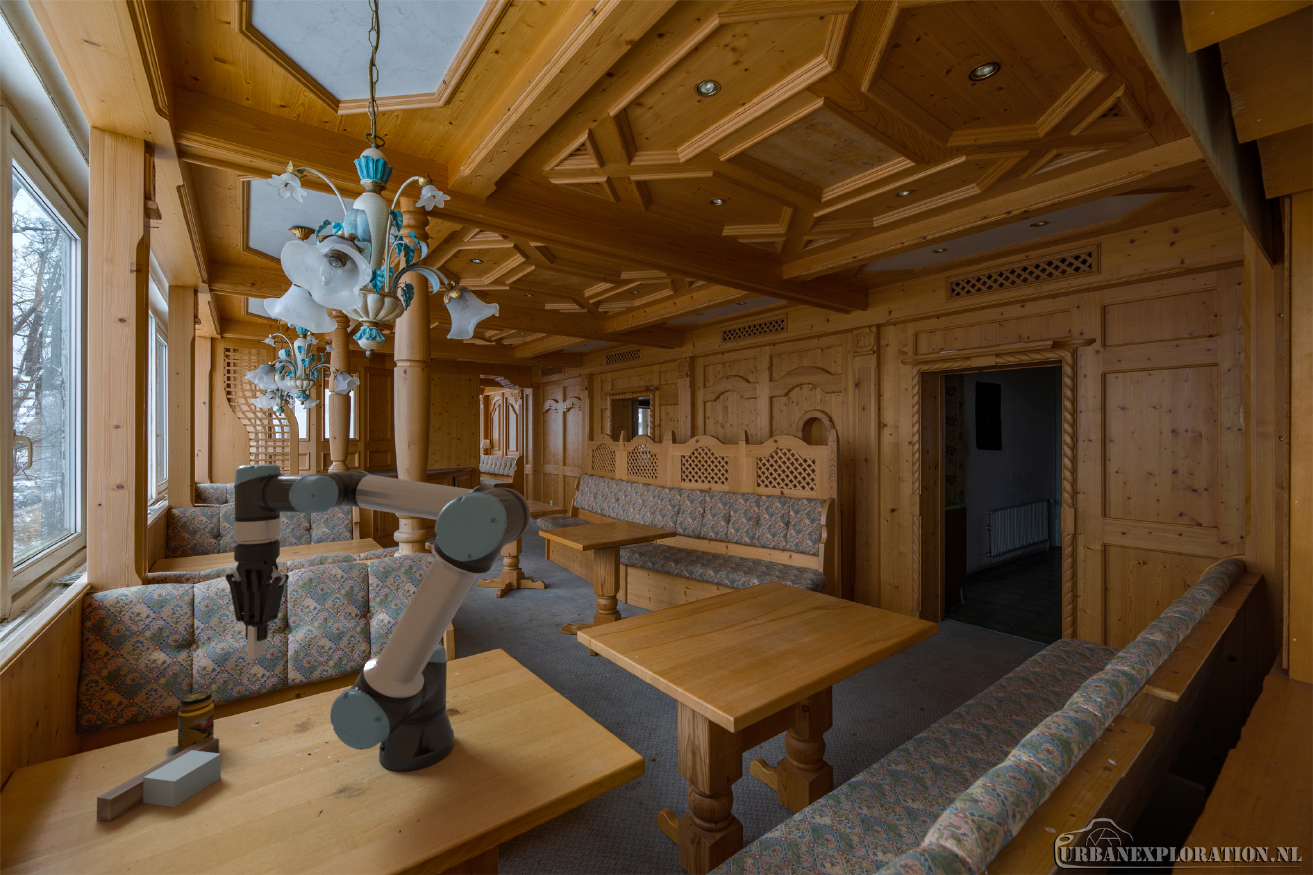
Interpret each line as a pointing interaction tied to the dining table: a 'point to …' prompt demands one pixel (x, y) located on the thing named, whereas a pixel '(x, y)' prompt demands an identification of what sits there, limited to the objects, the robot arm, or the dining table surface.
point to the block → (181, 778)
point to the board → (140, 785)
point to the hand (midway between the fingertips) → (256, 655)
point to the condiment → (194, 721)
